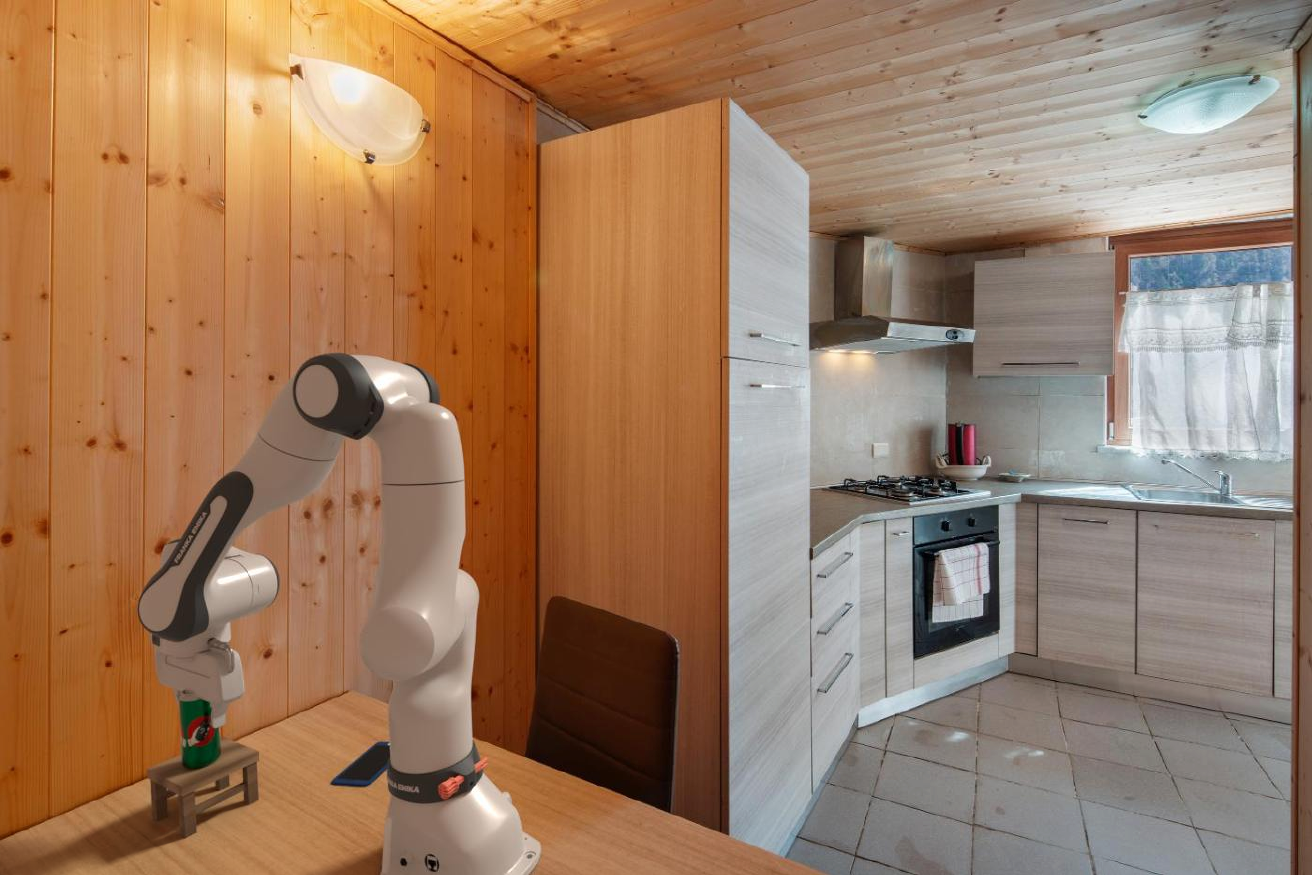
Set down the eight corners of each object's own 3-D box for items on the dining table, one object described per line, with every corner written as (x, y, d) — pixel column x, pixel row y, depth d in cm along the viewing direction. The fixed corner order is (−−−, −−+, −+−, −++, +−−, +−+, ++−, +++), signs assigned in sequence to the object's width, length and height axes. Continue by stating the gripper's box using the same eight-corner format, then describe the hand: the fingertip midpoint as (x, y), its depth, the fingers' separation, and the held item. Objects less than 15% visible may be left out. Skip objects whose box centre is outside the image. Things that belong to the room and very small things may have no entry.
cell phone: (413, 746, 118) (413, 742, 118) (367, 789, 104) (367, 784, 104) (378, 744, 119) (378, 740, 119) (328, 786, 105) (328, 782, 105)
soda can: (229, 754, 101) (225, 682, 101) (200, 772, 96) (196, 696, 96) (203, 752, 102) (199, 680, 101) (173, 769, 97) (169, 694, 97)
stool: (261, 798, 102) (258, 751, 102) (184, 839, 92) (181, 786, 92) (225, 782, 107) (223, 736, 107) (149, 818, 98) (147, 768, 97)
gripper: (253, 637, 97) (258, 724, 97) (188, 620, 107) (193, 699, 107) (208, 651, 91) (213, 743, 92) (144, 632, 101) (149, 715, 102)
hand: (202, 719), depth 99 cm, fingers open, 8 cm apart
